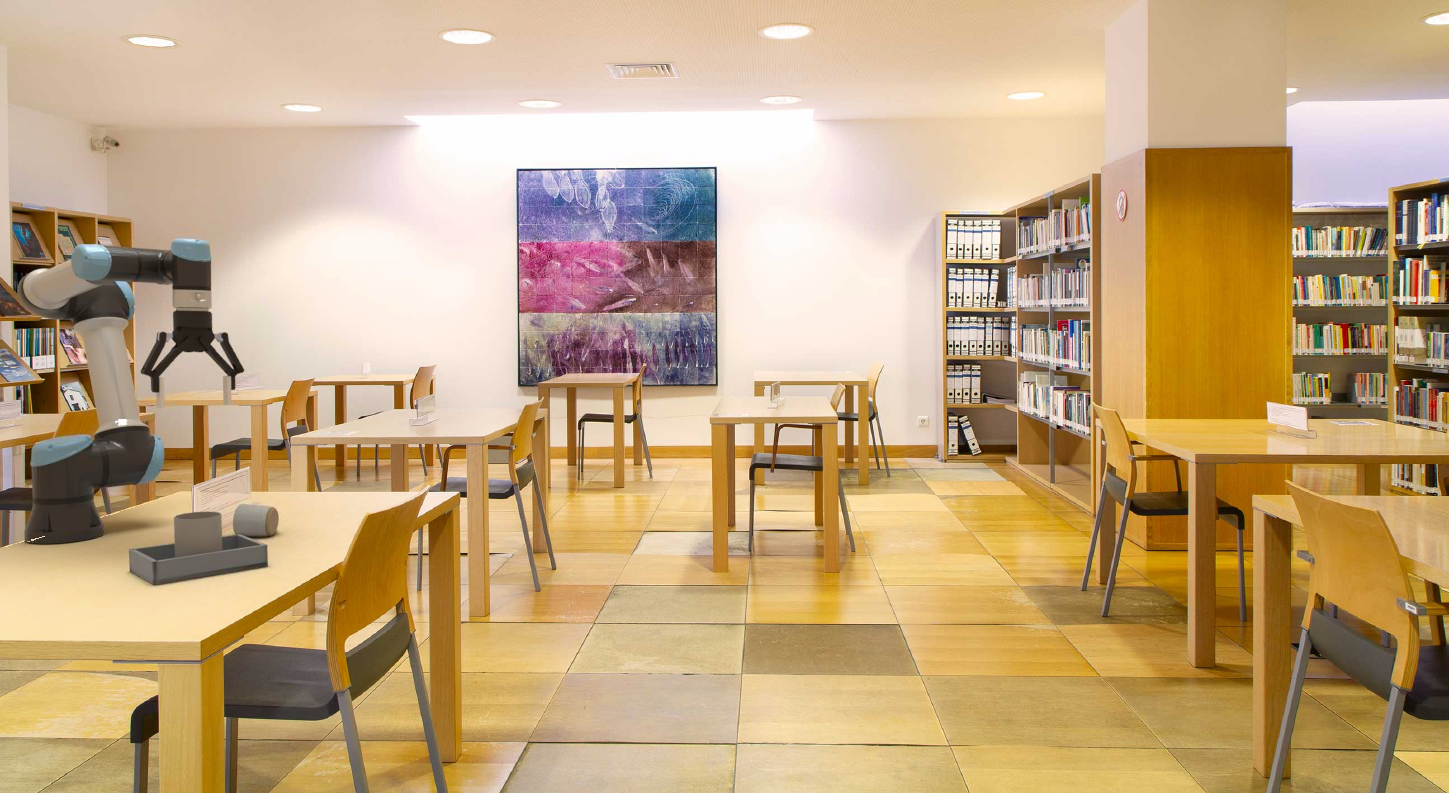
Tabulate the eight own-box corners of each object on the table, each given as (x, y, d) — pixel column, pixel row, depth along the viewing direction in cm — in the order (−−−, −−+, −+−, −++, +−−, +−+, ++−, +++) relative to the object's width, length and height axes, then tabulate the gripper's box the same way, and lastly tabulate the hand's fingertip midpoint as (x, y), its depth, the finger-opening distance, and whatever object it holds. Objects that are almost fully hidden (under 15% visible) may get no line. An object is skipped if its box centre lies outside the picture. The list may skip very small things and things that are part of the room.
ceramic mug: (268, 539, 221) (268, 506, 220) (232, 539, 220) (231, 506, 220) (285, 530, 231) (285, 499, 231) (250, 530, 231) (250, 499, 230)
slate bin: (129, 571, 190) (129, 549, 190) (239, 554, 206) (239, 533, 205) (154, 585, 180) (153, 562, 180) (267, 566, 195) (267, 544, 195)
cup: (174, 570, 187) (172, 520, 187) (176, 561, 195) (174, 513, 194) (222, 566, 191) (221, 517, 191) (222, 557, 199) (221, 510, 198)
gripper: (133, 308, 196) (136, 410, 198) (258, 311, 215) (260, 404, 216) (122, 308, 201) (125, 407, 203) (245, 311, 220) (247, 402, 221)
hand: (194, 406), depth 209 cm, fingers open, 13 cm apart
